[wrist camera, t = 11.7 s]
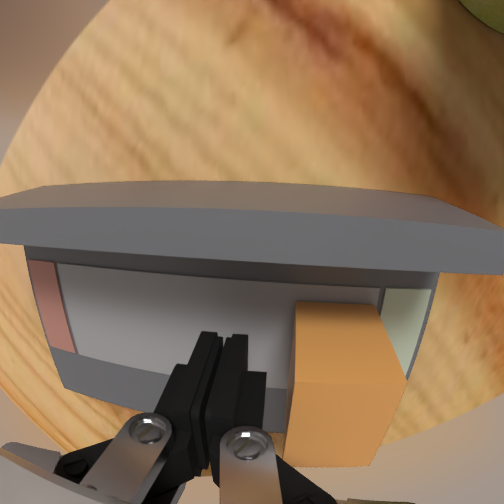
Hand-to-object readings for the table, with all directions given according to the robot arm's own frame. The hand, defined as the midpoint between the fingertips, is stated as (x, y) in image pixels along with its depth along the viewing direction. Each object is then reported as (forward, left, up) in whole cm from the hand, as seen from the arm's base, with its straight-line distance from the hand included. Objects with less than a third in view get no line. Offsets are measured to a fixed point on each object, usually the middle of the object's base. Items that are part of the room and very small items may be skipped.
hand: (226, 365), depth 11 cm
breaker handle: (-4, 0, -2) cm, 4 cm away
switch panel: (+1, 0, -4) cm, 4 cm away
